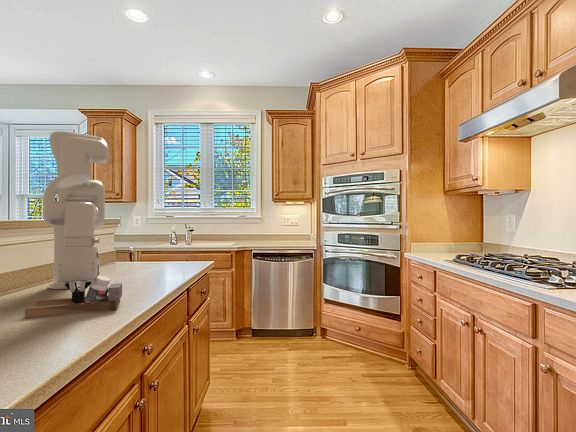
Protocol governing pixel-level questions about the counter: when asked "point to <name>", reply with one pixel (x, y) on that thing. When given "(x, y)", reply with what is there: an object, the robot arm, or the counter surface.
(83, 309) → the beam
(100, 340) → the counter surface
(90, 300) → the pill bottle
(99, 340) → the counter surface
